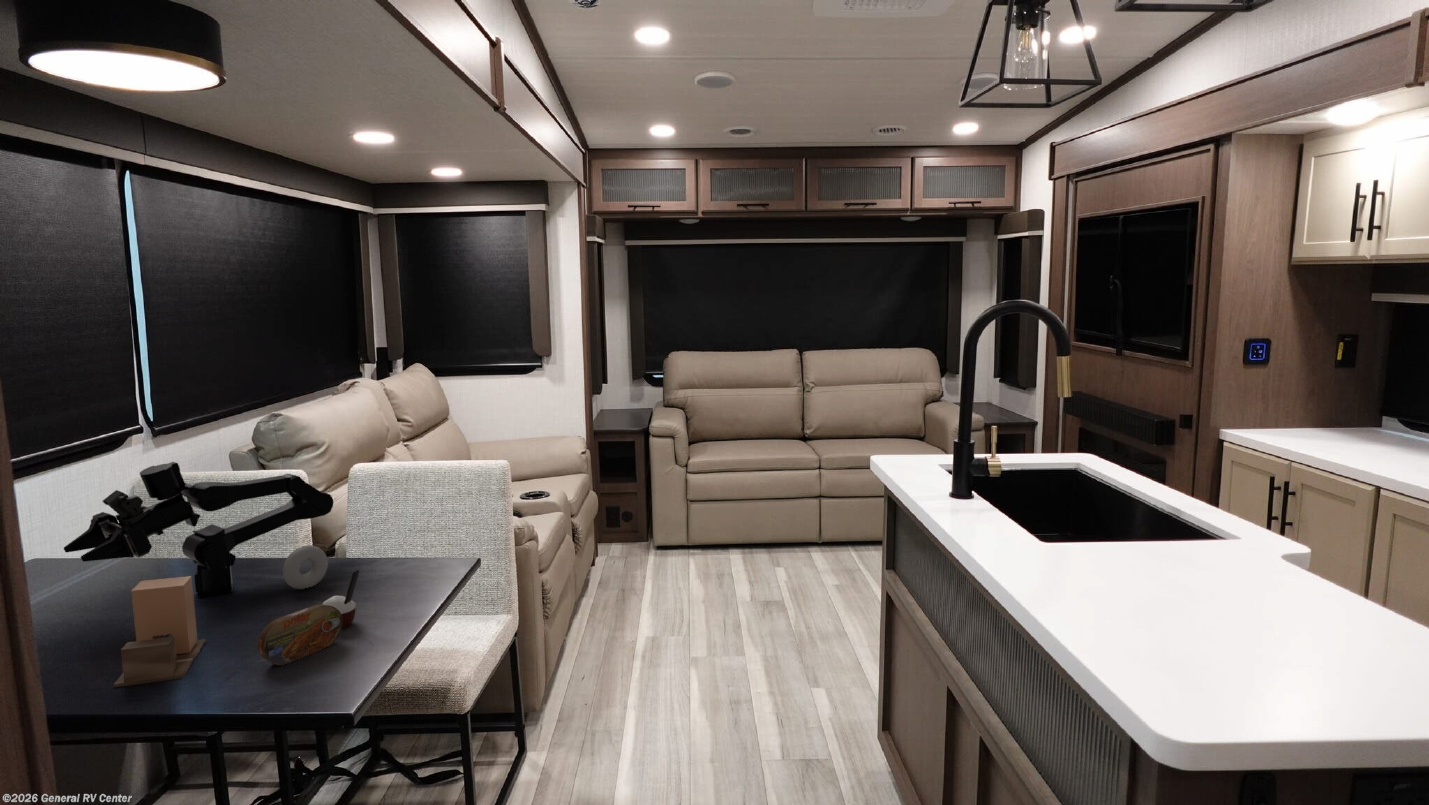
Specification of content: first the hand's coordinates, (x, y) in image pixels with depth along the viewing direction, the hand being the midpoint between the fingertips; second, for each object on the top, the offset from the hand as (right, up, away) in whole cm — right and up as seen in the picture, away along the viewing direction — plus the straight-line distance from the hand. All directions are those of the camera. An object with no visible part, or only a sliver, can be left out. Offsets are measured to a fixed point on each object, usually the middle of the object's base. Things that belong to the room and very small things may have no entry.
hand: (72, 554), depth 152 cm
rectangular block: (+25, -17, -8) cm, 31 cm away
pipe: (+26, -15, -11) cm, 32 cm away
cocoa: (+51, -16, +5) cm, 53 cm away
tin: (+49, -17, -7) cm, 53 cm away
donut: (+33, -13, +25) cm, 43 cm away
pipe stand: (+26, -18, -11) cm, 34 cm away
